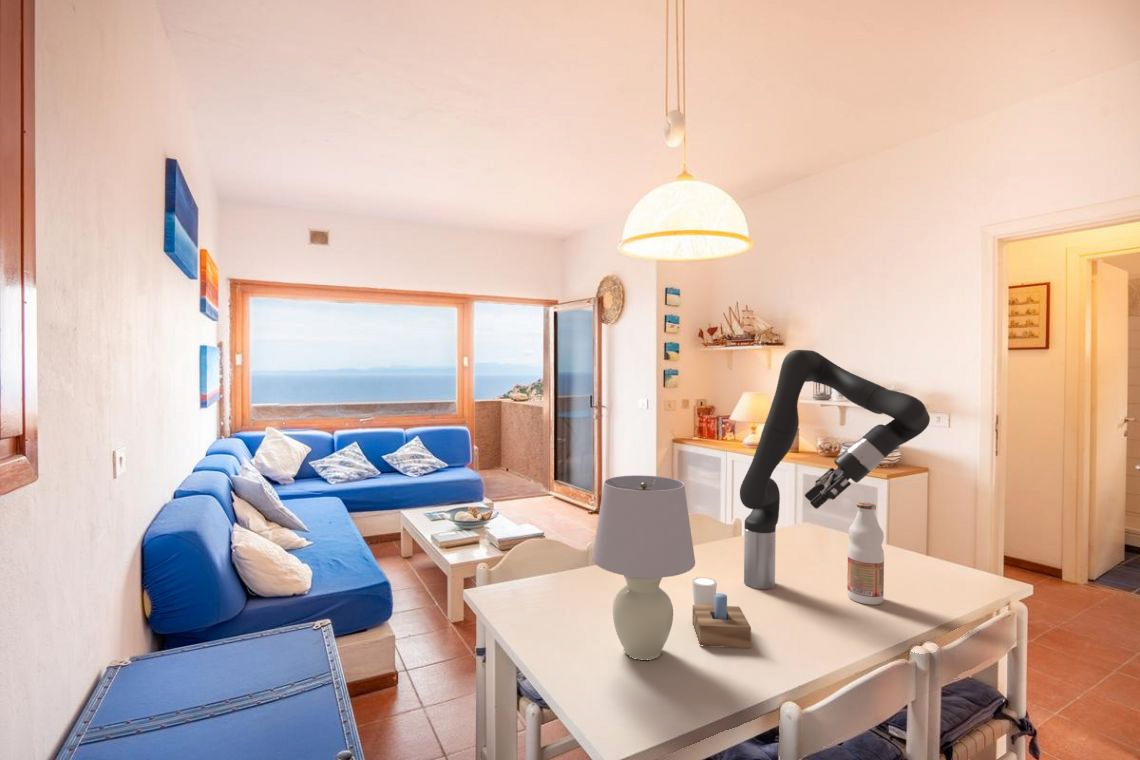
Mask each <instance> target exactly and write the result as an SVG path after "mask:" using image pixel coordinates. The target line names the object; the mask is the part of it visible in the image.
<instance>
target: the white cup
mask: <svg viewBox="0 0 1140 760" xmlns="http://www.w3.org/2000/svg"><path fill="white" fill-rule="evenodd" d="M691 585H692V598H693V605H710V606H715V594H717V585H718V583H717V581H716V580H715V579H712V578H711V577H704V576H703V577H701V576H699V577H694V578H692V579H691Z"/></svg>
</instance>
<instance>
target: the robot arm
mask: <svg viewBox="0 0 1140 760" xmlns="http://www.w3.org/2000/svg"><path fill="white" fill-rule="evenodd" d="M808 382H812V383H818V384H820V385H821V384H822V385H823V386H826V387H829V388H831V389H833V390H835V391H836V392H838V394H841V395H842V396H843V397H844V398H846V399H847V400H848V401H850V402H851V403H853V404H854V405H857V406H859V407H861V408H863V409H865V410H867V411H869V412H871V413H873V414H876V415H886V416H888V417H891V418H893V419H892V420H891V421H889V422H888V423H886V424H885V425H884V424H882V423H881V424H877V425H875V426H874V427H873V428H871V429H870V430H869V431H867V433H866V434H865V435H863V436H862V437H861V438H860V439H858V440H856V441H854V442H853V443H852V444H851V445H850V446H849V447H848V448H846V450H844V451H843V452H842V453H841V454H839V456H837V457H836V458H835V459H834V460H833V461H834V462H833V463H834V464H835V465H836V466H837V468H836V469H834V468H833V467H830V468H829V469H828V470H827V471H826V472H825V473H824V474H822V475H821V476H820V477H819V478H817V479H816V480H815V482H814V486H812V488H810V489H809V490H808V491H807V492H806V493H805V494H804V497H805V498H806V499H807V500H808V501H809V503H810V505H811V506H812V507H813V508H814V509H819V508H820V507H821V506H823V505H824V504H825V503H826V502H827V501H830V500H832V501H833V500H835V499H836V498H837V497H838V496H840V494H842V492H844V491H845V490H846V489H847V488H849V486H851V485H852V484H851V482H850V481H849V480H852V481H853V482H854V483H856V484H857V483H859V482H861V480H863V479H864V478H865V477H866V476H867V475H868V474H870V473H871V472H872V471H873V470H874V469H875V468H877V467H878V466H879V465H880V464H881V462H883V461H884V459H885V458H887V457H888V456H889V455H890V454H891V453H893V451H895V450H896V449H897V448H898V447H900V446H901V445H903V444H906V443H907V442H909V441H911V440H913V439H914V438H915V437H918V436H919V435H920V434H922V433H923V432H924V431H925V430H926V429H927V428H928V426H929V425H930V421H931V419H930V418H931V417H930V414H929V412H928V410H927V408H926V405H925V404H924V403H923V401H921V400H920V399H918V398H917V397H914V396H913V395H911V394H907V393H905V392H900V391H895V390H890V389H888V388H886V387H884V386H882V385H879V384H878V383H875V382H873V381H870V380H868V379H866V378H864V377H861V376H859V375H856V374H854V373H852V372H850V371H847V370H846V369H844V368H842V367H840V366H839V365H837V364H836V363H834V362H833V361H831V360H829V359H828V358H826V357H825V356H823V355H822V354H821V353H819V352H817V351H814V350H811V349H810V350H809V349H794V350H791V351H789V352H788V353H787V354H786V355H785V356H784V359H783V360H782V364H781V367H780V371H779V375H778V381H777V385H776V388H775V389H776V390H775V394H774V396H773V399H772V402H771V406H770V409H769V411H768V414H767V417H766V418H765V419H766V420H765V422H764V426H763V428H762V431H761V434H760V438H759V441H758V444H757V445H756V448H755V453H754V456H753V458H752V461H751V464H750V465H749V467H748V470H747V471H746V474H745V476H744V479H743V481H742V483H741V484H740V488H739V497H740V498H739V499H740V501H741V503H742V505H743V506H744V507H745V508H747V509H750V510H751V512H750V514H749V515H748V516H747V517H745V519H744V535H743V536H744V538H743V540H744V544H743V545H744V546H743V549H744V550H743V551H744V552H743V554H744V555H743V557H744V559H743V583H744V584H745V585H746V586H748V587H750V588H753V589H759V590H771V589H773V588H775V586H776V538H777V537H776V535H777V534H776V531H777V530H776V527H777V524H778V522H779V517H780V502H781V500H780V499H781V497H780V496H781V495H780V493H781V492H780V489H779V486H778V484H777V481H775V480H774V479H773V478H772V475H773V473H774V471H775V469H776V468H777V467H778V465H779V464H780V462H781V461H782V460H783V459H785V456H786V455H787V454H788V453H789V451H790V450H791V448H792V446H793V444H794V441H795V438H796V436H797V433H798V430H799V425H800V423H799V422H800V421H799V419H800V418H799V409H798V402H799V398H800V394H801V392H802V389H803V386H804V385H805V383H808Z"/></svg>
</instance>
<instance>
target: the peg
mask: <svg viewBox="0 0 1140 760" xmlns="http://www.w3.org/2000/svg"><path fill="white" fill-rule="evenodd" d="M727 606H728V595H727V594H725V593H722V592H721V593H716V594H715V619H721V620H727Z"/></svg>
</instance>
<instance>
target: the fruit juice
mask: <svg viewBox="0 0 1140 760" xmlns="http://www.w3.org/2000/svg"><path fill="white" fill-rule="evenodd" d="M856 509H857V513H856V515H855V517H854V518H855V519H854V521H853V522H852V524H851V525H850V526H849V528H848V538H849V544H848V548H847V585H846V586H847V590H846V591H847V597H848V598H849V599H850V600H852V601H854V602H856V603H860V604H863V605H868V606H869V605H870V606H871V605H872V606H873V605H874V606H877V605H880V604H882V603H883V602H884V599H885V598H884V594H885V593H884V590H885V589H884V588H885V587H884V586H885V585H884V583H885V582H884V581H885V553H884V549H883V542H884V540H885V539H884V538H885V536H884V531H883V530H882V528H881V526H880V524H879V522H878V519H877V518H878V517H877V516H876V512H875V511H876V509H877V505H876V504H875V503H873V502H865V501H857V503H856Z"/></svg>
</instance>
